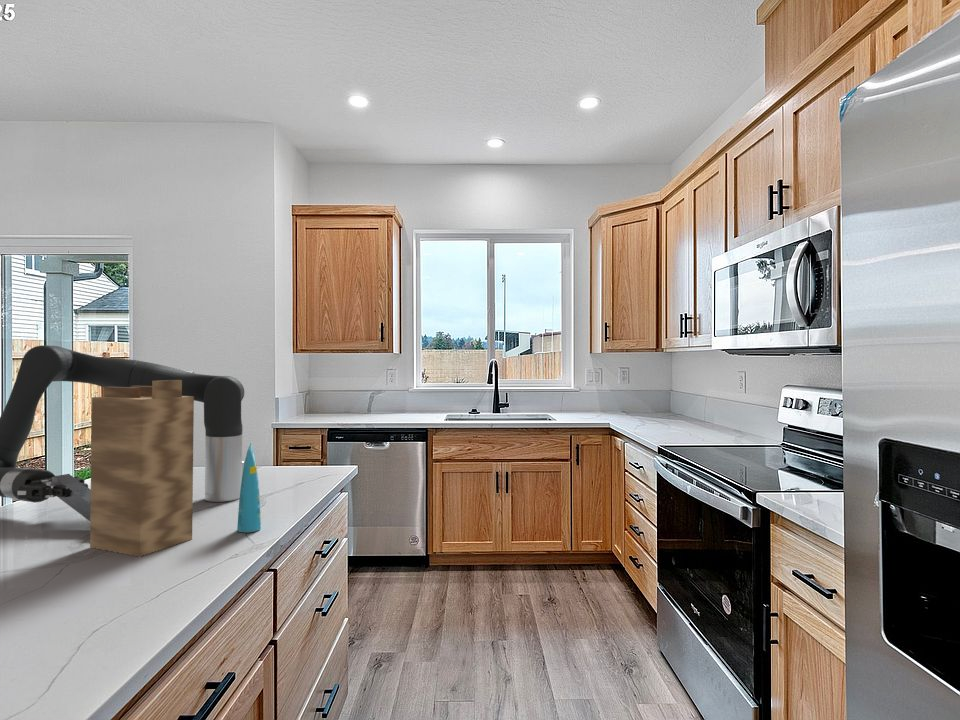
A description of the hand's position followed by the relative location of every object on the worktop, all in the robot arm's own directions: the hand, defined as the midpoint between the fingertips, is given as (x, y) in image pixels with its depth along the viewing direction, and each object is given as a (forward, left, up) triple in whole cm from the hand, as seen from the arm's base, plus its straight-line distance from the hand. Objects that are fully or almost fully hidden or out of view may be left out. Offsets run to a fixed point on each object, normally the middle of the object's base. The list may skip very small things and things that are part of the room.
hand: (77, 490), depth 130 cm
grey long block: (0, +3, -4) cm, 5 cm away
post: (+3, +24, -8) cm, 26 cm away
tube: (-13, +37, -8) cm, 41 cm away
